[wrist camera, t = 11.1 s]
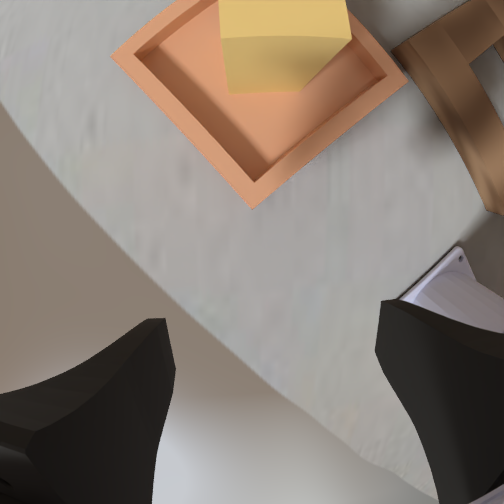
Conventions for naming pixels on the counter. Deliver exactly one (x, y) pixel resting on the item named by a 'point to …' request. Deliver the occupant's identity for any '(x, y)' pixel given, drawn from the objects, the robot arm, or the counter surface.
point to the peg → (279, 42)
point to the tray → (252, 97)
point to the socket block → (463, 88)
